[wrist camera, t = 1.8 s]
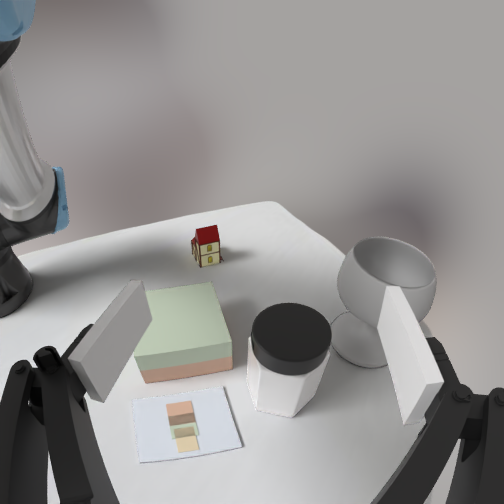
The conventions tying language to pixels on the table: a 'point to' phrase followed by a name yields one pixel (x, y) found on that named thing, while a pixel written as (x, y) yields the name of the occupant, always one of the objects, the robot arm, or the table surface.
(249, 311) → the table surface
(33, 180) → the robot arm
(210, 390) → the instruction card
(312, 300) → the table surface
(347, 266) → the chalice
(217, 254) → the toy house
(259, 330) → the jar
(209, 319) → the tower base
